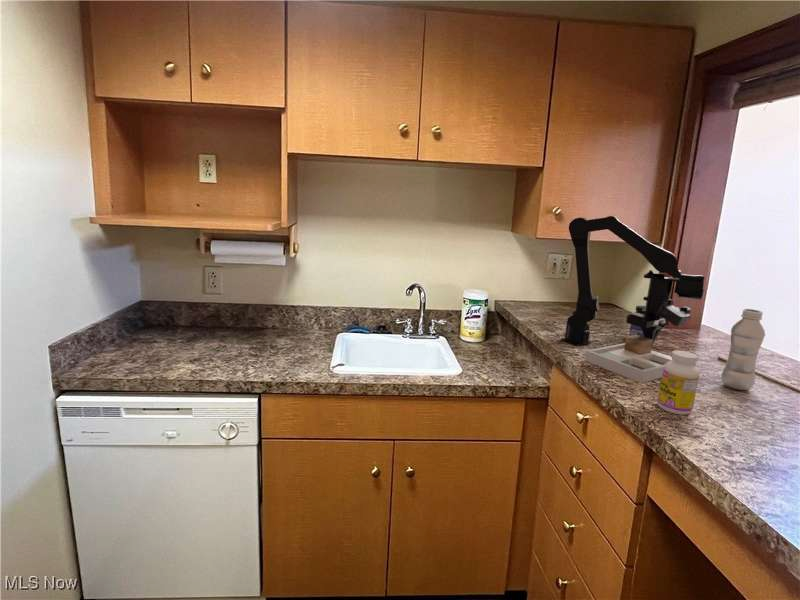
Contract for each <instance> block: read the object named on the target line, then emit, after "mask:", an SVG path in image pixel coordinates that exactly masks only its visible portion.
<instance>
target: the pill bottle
mask: <svg viewBox="0 0 800 600" xmlns="http://www.w3.org/2000/svg"><path fill="white" fill-rule="evenodd" d="M645 306H646V305H636V307H635V312H634V313H640V314H642V313H641V310H645ZM644 315H645V314H644ZM633 335H639V336H643V337H644V335H643V332H642V330H641V327H639V326H636V325H632V324H630V328H629V334H628V336H633Z"/></svg>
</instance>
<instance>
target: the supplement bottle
mask: <svg viewBox="0 0 800 600" xmlns="http://www.w3.org/2000/svg"><path fill="white" fill-rule="evenodd" d="M671 357H672V361H669V362H667V363H666V364H665V366H664V370H663V375H662V378H661V381H660V387H659V391H658V396H657V401H656V402H657V403H656V404H657V406H658V407H660V409H662V410H664V411H666V412H668V413H669V414H670V413H671V414H674V415H681V416H683V415H689V414H691V413H692V412H693V407H694V404H695V398H696V395H697V390H698V384H699V379H700V375H701V372H700V369H699V368H698V366H696V364H697V363H698V355H697V354H695V353H693V352H691V351H686V350H685V351H684V350H678V349H677V350H672V352H671Z"/></svg>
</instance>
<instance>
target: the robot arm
mask: <svg viewBox="0 0 800 600" xmlns="http://www.w3.org/2000/svg"><path fill="white" fill-rule="evenodd" d="M606 230H608V231H609V232H612V233H613V234H614V235H615V236H617V237H618V238H619V239H621V240H622V241H624V242H625V243H626V244H627V245H629V246H630V247H632V248H633V249H635V250H636V251H637V252H639V253H640V254H641V255H642V256H643V257H644V258H645V259H646V261H648V263H649V264H650V265H651V266H652V267H653V268H654V269H655V270H656V271H657V272H654V271H653V270H652V269H650V270H648V271H647V272H645V273H643V278H644V279H649V284H648V285H649V286H648V290H647V295H645V296H643V301H645V305H644V306H645V310H641V313H642V314H640V313H635V312H633V313H630V314H628V315H626V317H625V319H626V320H625V323H626V324H629V325H631V324H632V325H636V326H639V327H641V330H642V332H643V335H644V337H646V338H649V339H653V343H652V346H653V345H654V343H655V341H656V339H657V338H658V336H659V334H660V333H661V331H662V330H663V329H666V328H667V327H670V324H671V325H672V326H674V327H679V326H684V325H685V323H686V322H687V321H688V320H691V311H692V309H691V308H690V307H688V306H682V307H679V306H678V307H677V306H675V305H674V301H673V300H674V299H671V293H672V288H673V294H675V295H677V296H676V297H677V298H683V299H691V300H699V301H701V300H702V298H703V296H704V295H703V294H704V291H705V289H704V284H705V281H704V280H705V276H704V275H702V274H700V275H699V274H685V273H682V271H681V269H678V267H677V264H678V260H677V257H676V255H675V254H674V253H673V252H671V251H669V250H667V249H665V248H663V247H661V246H658V245H656V244H654V243H652V242H650V241H648V240H647V239H646V238H644V236H642V235H640V234H638V233H637V231H634V230H633V229H632V228H630V226H627V225H626V224H624V223H623V222H622V221H621V220H619V219H618V218H617V216H615V215H609V216H606V217H599V218H593V219H588V218H587V217H583V216H582V217H580V216H579V217H576V218H574V219H572V220H571V221H570V223H569V224H568V232H569V234H570V238H571V242H572V244H573V247H574V253H575V254H574V255H575V264H576V278H577V279H576V281H577V289H578V293H577V294H578V295H577V300H576V308H575V310H574V311H572V312H571V314H570V315H569V316H568V317H567V319H566V320H567V321H566V327H565V334H564V337H562V338H561V341H564V342H566V343H570V344H571V345H574V346H583V345H589V344H591V341H590V340H589V339H590V333H591V332H590V331H591V330H590V327H591V325H590V324H588V323H589V322H592V321H593V320H594V319H595V318H596V316H597V314H598V312H599V310H600V308H601V306H600V303H599V297H600V296H599V295H596V296H595V295H594V292H593V288H592V274H591V273H592V272H591V261H590V260H591V259H590V249H589V248H590V247H589V246H590V240H591V235H592V233H591V232H596V231H597V232H598V231H606ZM665 273H667V275H669V276H670V277H667V276H666V274H665ZM673 283H674V287H673ZM644 314H645V315H644ZM666 321H668V323H666ZM669 323H670V324H669Z"/></svg>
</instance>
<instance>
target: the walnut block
mask: <svg viewBox="0 0 800 600" xmlns="http://www.w3.org/2000/svg"><path fill="white" fill-rule="evenodd" d="M624 343H625V348H624V350H627V351H630V352H633V353H636V354H639V355H643V354H647V353H651V350H652V347H653V345H652V343H653V339H649V338H646V337H643V336H639V335H633V336H629V335H628V336H625V342H624ZM653 344H654V343H653Z"/></svg>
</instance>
